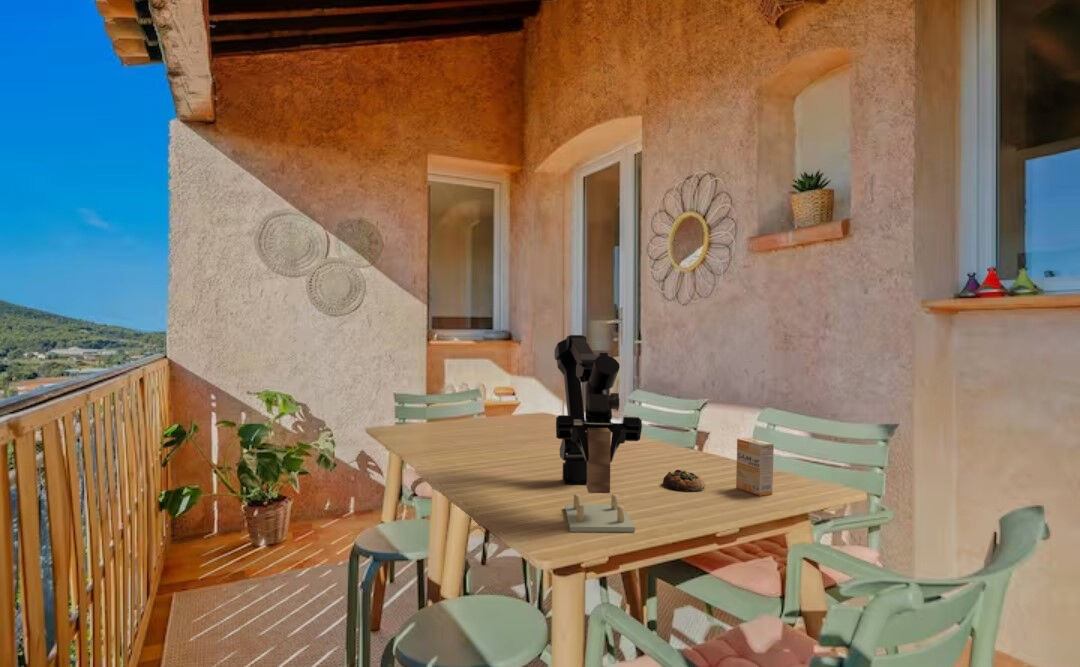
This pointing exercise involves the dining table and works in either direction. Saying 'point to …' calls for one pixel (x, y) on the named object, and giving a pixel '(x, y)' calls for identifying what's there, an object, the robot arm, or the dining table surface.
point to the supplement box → (754, 466)
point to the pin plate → (598, 517)
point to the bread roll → (683, 481)
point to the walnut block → (598, 460)
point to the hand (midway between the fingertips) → (598, 460)
